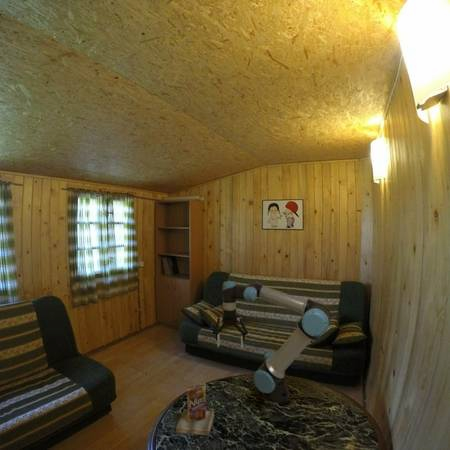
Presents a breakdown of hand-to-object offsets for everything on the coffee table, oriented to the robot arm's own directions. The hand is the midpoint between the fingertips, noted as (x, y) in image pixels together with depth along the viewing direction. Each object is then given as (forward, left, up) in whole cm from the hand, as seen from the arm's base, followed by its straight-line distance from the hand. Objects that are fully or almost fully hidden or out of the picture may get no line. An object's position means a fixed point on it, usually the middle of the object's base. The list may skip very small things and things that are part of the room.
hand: (230, 346), depth 156 cm
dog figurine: (+18, +8, -29) cm, 35 cm away
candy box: (+15, +23, -27) cm, 38 cm away
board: (+15, +23, -29) cm, 40 cm away
